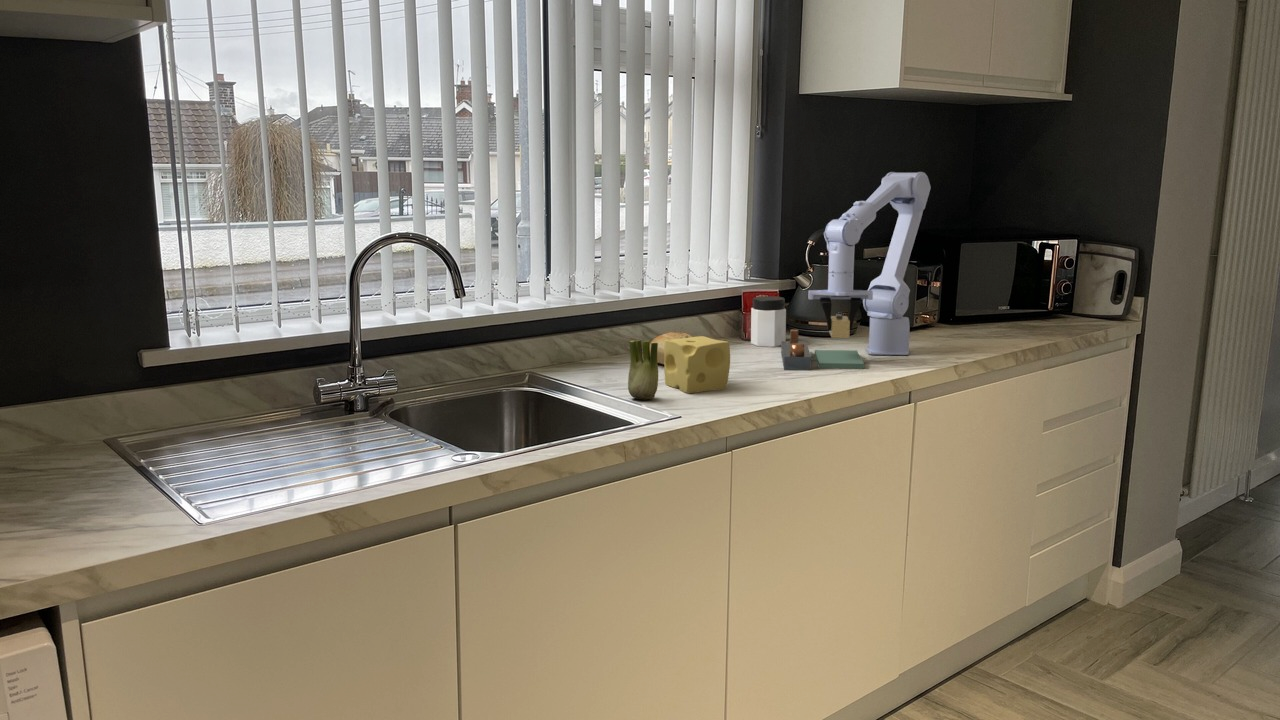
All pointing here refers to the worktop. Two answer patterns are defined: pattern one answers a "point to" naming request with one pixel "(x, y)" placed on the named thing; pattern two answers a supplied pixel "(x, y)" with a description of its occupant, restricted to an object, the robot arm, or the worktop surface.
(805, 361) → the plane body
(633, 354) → the fennel bulb
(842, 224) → the robot arm
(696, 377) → the cheese
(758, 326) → the jar
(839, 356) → the mat
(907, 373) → the worktop surface
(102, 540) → the worktop surface
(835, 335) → the tan block
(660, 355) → the bread roll
